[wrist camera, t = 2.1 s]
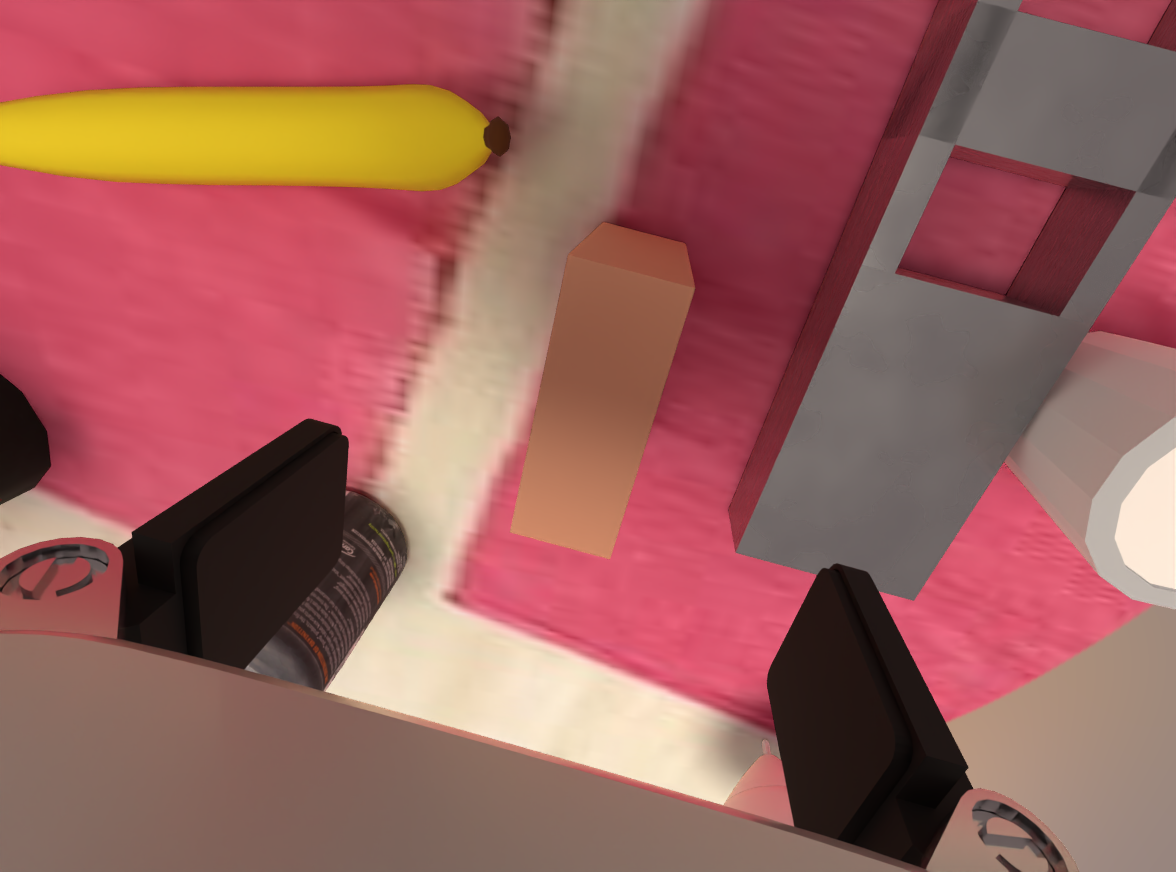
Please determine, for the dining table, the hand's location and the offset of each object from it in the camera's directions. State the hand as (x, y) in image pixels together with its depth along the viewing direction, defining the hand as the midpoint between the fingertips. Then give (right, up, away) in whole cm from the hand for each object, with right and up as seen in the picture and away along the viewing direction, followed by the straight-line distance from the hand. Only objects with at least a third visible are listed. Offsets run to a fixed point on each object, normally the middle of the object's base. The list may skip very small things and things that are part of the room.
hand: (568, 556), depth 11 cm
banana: (-10, +13, +10) cm, 19 cm away
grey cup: (+18, +4, +10) cm, 21 cm away
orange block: (+1, +6, +11) cm, 13 cm away
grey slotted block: (+12, +8, +9) cm, 17 cm away
